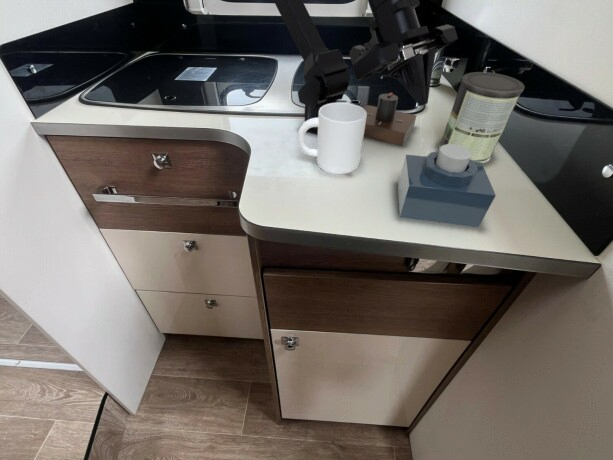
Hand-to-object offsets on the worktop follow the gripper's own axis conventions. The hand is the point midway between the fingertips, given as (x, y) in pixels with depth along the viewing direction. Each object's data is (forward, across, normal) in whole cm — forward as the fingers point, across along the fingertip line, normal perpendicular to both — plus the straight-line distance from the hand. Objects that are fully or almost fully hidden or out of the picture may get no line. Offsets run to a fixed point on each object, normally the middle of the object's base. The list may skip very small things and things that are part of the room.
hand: (423, 104), depth 51 cm
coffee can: (+12, -15, -6) cm, 21 cm away
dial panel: (+2, -9, -19) cm, 21 cm away
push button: (+10, +4, +4) cm, 12 cm away
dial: (-1, -9, -17) cm, 20 cm away
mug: (+3, +10, -16) cm, 20 cm away
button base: (+16, +5, 0) cm, 16 cm away
